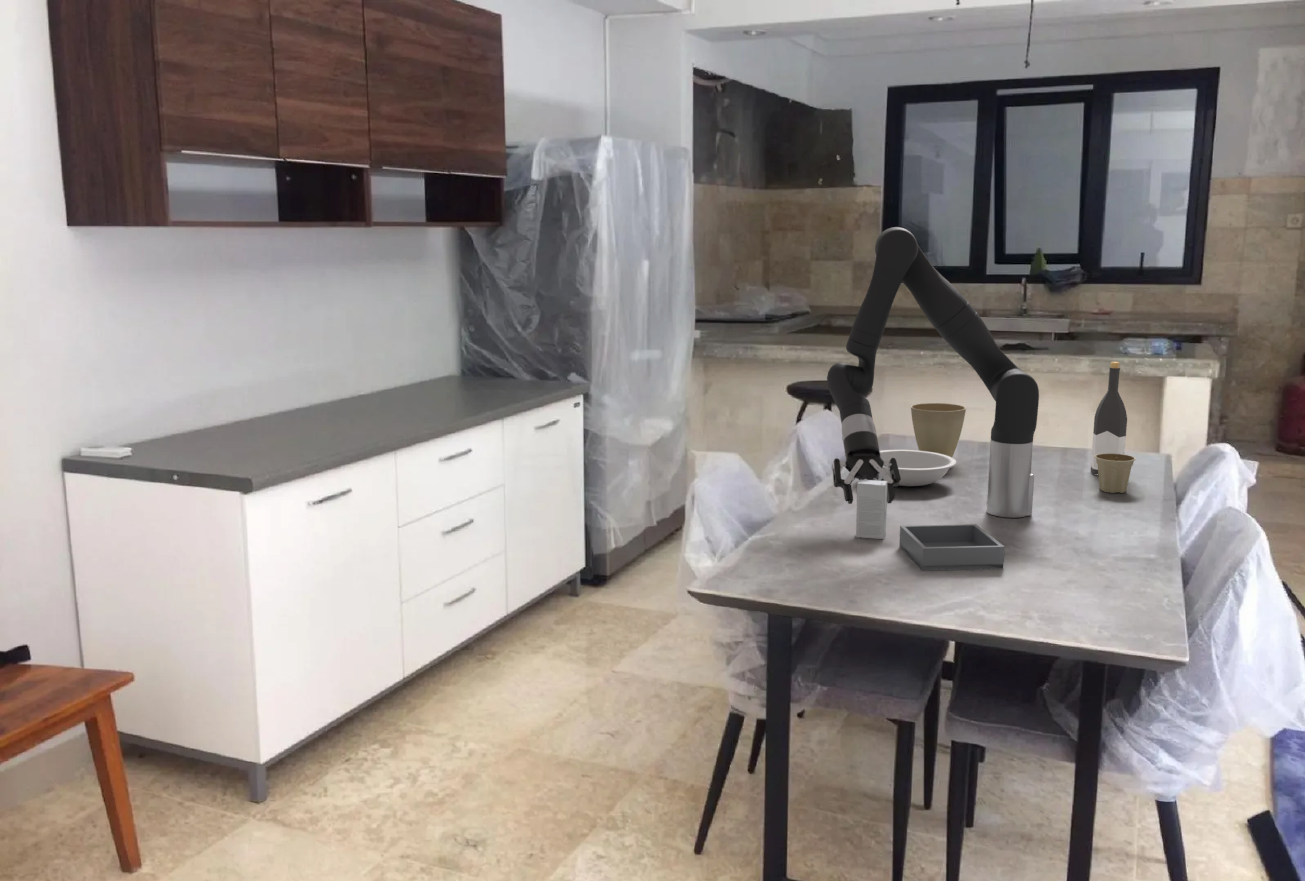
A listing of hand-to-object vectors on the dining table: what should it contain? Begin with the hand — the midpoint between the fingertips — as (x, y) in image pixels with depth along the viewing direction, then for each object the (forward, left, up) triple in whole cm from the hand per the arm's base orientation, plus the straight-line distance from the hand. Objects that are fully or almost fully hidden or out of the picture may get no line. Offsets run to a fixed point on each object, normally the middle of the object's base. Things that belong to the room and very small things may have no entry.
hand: (870, 501), depth 229 cm
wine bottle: (-77, -52, -8) cm, 94 cm away
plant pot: (-36, -69, -8) cm, 79 cm away
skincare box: (0, +1, -8) cm, 8 cm away
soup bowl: (-21, -45, -8) cm, 51 cm away
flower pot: (-70, -34, -8) cm, 79 cm away
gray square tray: (-12, +17, -7) cm, 22 cm away
